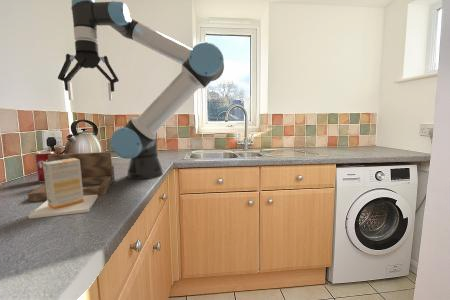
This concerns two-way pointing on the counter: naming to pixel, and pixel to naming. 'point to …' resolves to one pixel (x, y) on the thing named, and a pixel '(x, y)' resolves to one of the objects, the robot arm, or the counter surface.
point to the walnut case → (85, 173)
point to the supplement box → (63, 182)
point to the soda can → (39, 160)
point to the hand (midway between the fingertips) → (91, 100)
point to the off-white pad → (64, 208)
